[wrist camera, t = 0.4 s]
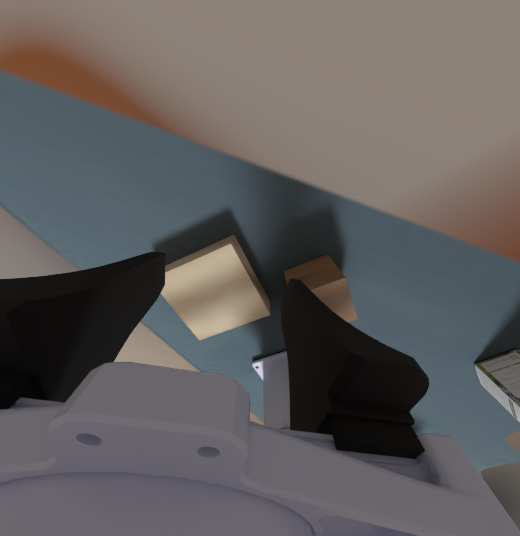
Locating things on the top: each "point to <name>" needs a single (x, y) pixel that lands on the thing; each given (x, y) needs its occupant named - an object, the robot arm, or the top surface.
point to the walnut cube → (326, 285)
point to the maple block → (215, 289)
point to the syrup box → (502, 379)
